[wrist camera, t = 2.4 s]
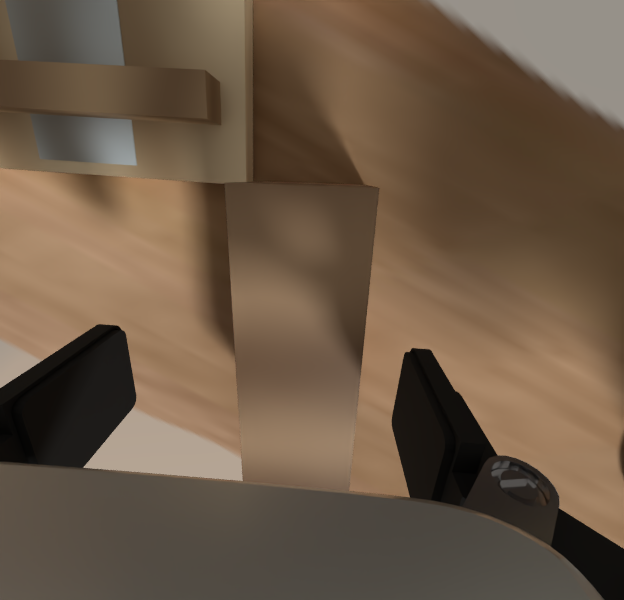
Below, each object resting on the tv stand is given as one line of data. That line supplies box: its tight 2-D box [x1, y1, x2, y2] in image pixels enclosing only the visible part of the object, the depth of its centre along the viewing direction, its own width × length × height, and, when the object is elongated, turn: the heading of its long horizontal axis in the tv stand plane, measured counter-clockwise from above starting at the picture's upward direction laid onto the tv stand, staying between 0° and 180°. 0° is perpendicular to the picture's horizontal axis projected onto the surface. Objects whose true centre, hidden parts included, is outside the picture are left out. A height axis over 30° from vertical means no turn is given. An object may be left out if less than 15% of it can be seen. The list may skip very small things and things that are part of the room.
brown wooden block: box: [224, 181, 379, 491], centre depth 15 cm, size 14×4×6 cm, turn 178°
